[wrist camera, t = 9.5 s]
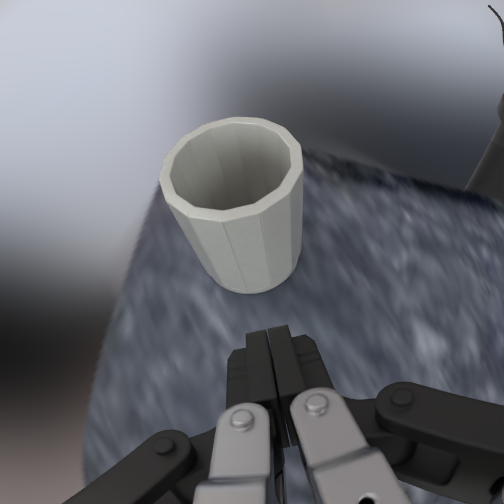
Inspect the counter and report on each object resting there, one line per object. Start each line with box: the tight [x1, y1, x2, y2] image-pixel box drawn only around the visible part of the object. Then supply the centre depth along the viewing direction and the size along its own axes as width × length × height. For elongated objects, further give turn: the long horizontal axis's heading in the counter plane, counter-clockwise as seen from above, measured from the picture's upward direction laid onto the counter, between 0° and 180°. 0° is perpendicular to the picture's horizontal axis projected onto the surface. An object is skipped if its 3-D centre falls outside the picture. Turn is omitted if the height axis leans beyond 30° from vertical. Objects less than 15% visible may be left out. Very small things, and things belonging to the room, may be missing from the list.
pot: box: [159, 117, 303, 294], centre depth 16 cm, size 6×6×8 cm
